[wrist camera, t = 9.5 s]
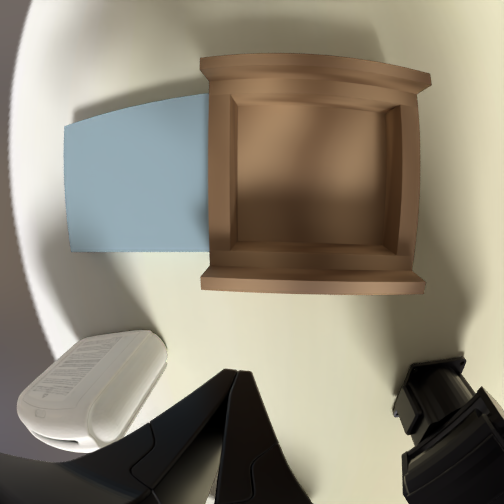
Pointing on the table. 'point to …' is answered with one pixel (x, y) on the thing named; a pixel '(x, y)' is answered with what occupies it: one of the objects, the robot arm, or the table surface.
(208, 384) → the robot arm
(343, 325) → the table surface
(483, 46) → the table surface
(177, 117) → the cover plate
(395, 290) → the slide box
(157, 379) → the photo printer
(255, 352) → the table surface
